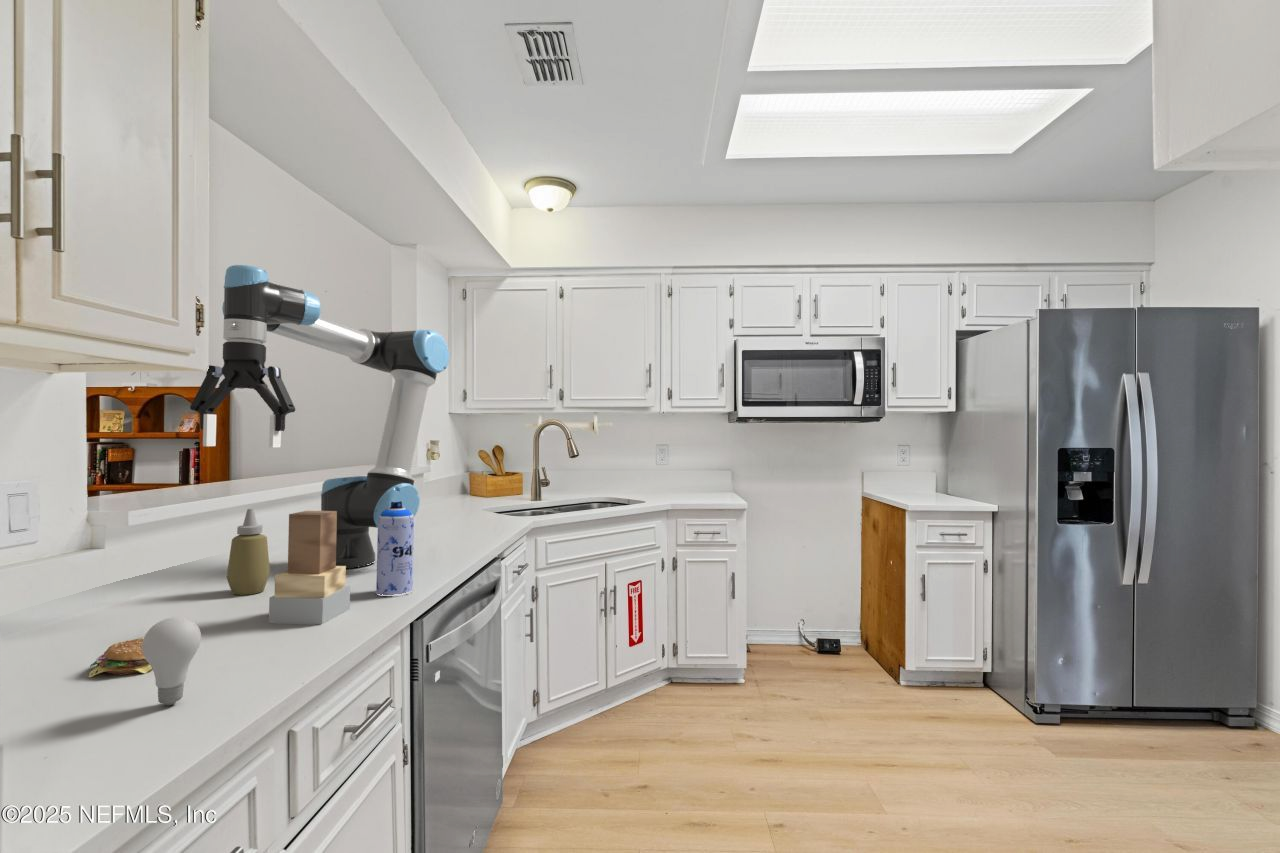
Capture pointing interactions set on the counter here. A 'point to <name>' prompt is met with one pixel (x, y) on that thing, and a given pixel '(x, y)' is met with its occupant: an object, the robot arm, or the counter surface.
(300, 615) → the grey slab
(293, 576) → the beech slab
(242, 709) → the counter surface
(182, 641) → the lightbulb
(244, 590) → the squeeze bottle
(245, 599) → the counter surface
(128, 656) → the hamburger
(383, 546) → the aerosol can
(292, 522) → the walnut block
